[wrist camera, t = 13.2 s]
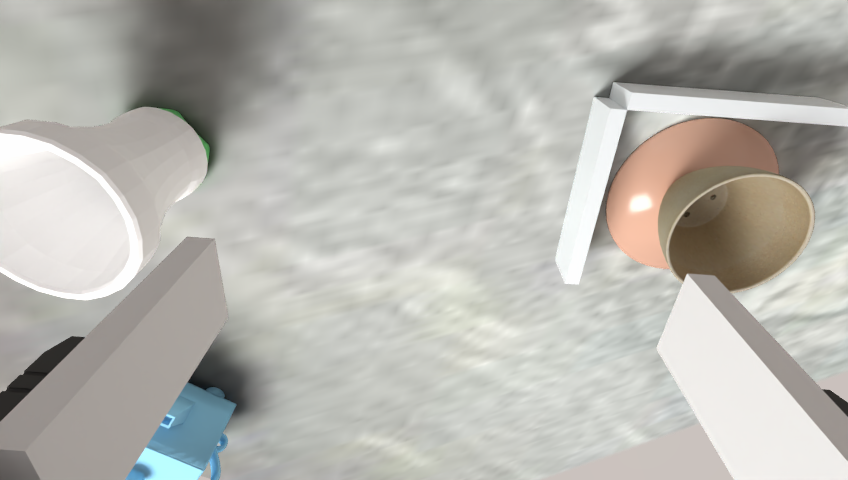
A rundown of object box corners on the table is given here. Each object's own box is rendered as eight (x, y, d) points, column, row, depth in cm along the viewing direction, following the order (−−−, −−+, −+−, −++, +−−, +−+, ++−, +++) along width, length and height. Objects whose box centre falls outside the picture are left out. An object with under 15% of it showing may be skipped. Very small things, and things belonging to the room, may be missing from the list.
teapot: (273, 383, 53) (234, 475, 43) (214, 464, 60) (169, 558, 50) (137, 319, 49) (60, 404, 39) (92, 414, 56) (18, 505, 46)
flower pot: (700, 117, 36) (754, 145, 30) (780, 185, 39) (845, 224, 33) (607, 211, 40) (638, 252, 34) (685, 267, 43) (727, 315, 37)
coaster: (631, 111, 37) (633, 112, 36) (806, 124, 37) (809, 125, 36) (588, 261, 43) (590, 263, 43) (736, 271, 43) (739, 274, 43)
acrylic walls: (597, 80, 36) (614, 91, 32) (818, 97, 36) (860, 109, 32) (555, 259, 43) (564, 283, 40) (736, 272, 43) (762, 298, 40)
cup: (78, 85, 37) (-104, 135, 25) (212, 75, 36) (93, 122, 24) (131, 211, 42) (3, 305, 30) (249, 205, 42) (167, 298, 29)
